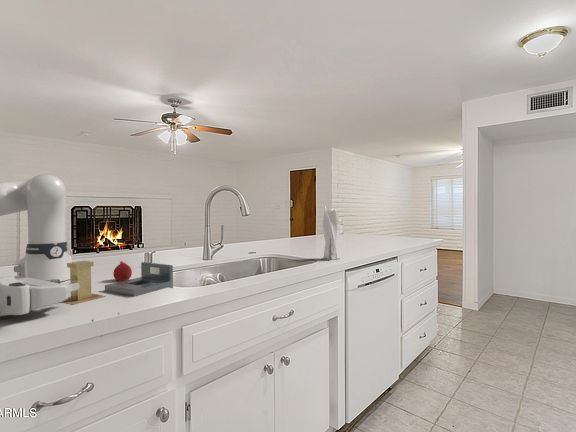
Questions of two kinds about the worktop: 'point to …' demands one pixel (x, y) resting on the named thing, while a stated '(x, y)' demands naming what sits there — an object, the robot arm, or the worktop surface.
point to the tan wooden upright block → (81, 279)
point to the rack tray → (145, 280)
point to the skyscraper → (330, 234)
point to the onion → (122, 272)
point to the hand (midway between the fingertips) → (68, 283)
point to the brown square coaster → (93, 297)
